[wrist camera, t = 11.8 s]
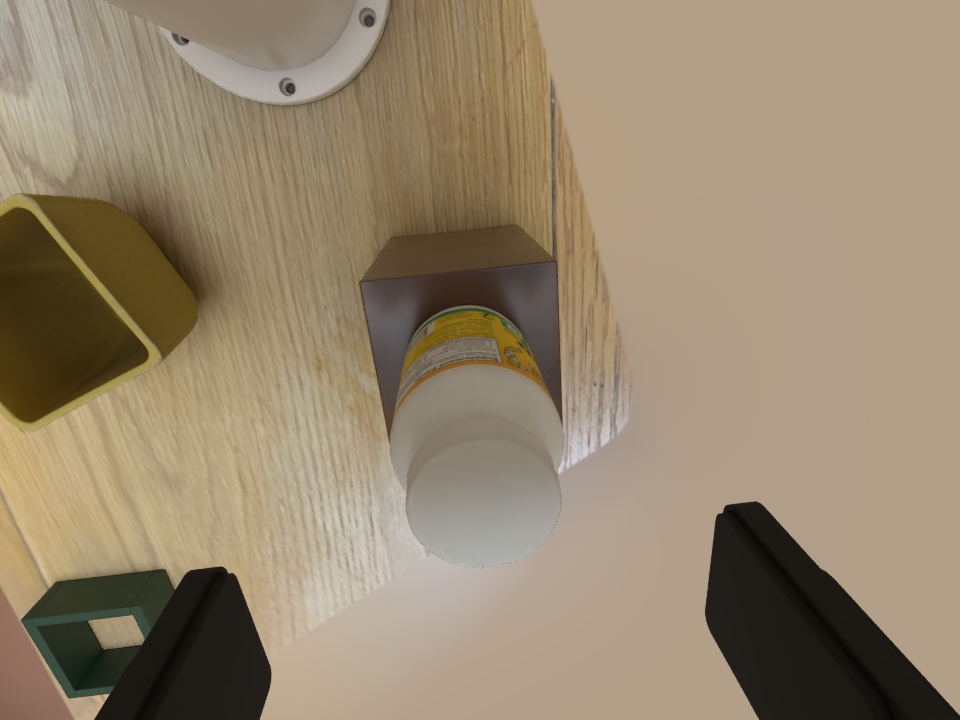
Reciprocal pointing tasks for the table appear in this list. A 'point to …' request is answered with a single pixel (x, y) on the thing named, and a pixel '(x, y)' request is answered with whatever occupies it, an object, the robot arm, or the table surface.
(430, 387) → the supplement bottle
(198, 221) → the table surface
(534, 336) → the display block
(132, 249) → the flower pot
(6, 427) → the table surface
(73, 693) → the open square frame
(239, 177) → the table surface
